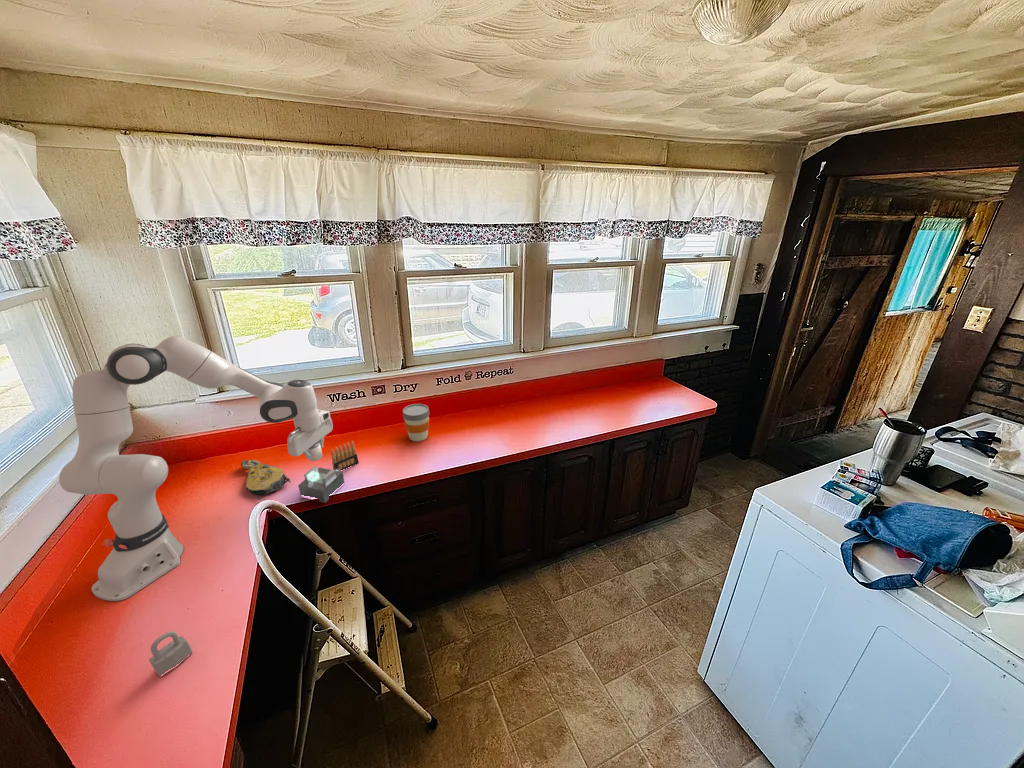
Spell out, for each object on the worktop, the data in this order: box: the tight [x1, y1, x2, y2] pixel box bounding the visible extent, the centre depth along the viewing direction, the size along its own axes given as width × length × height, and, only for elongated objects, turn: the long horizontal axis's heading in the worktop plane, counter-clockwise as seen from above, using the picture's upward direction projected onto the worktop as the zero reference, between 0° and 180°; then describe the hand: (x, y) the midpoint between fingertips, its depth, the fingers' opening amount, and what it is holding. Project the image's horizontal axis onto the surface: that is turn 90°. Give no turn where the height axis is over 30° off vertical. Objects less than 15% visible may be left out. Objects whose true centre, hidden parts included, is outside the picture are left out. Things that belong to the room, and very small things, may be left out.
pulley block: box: [240, 459, 292, 501], centre depth 170 cm, size 14×6×30 cm
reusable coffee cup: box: [402, 403, 431, 442], centre depth 200 cm, size 13×13×15 cm
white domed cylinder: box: [308, 442, 324, 462], centre depth 157 cm, size 5×5×6 cm
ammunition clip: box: [330, 440, 360, 471], centre depth 177 cm, size 11×2×12 cm, turn 137°
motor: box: [298, 465, 346, 504], centre depth 165 cm, size 16×11×9 cm
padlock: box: [148, 630, 193, 677], centre depth 102 cm, size 7×4×10 cm, turn 149°
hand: (314, 452), depth 158 cm, fingers closed on white domed cylinder, 5 cm apart
